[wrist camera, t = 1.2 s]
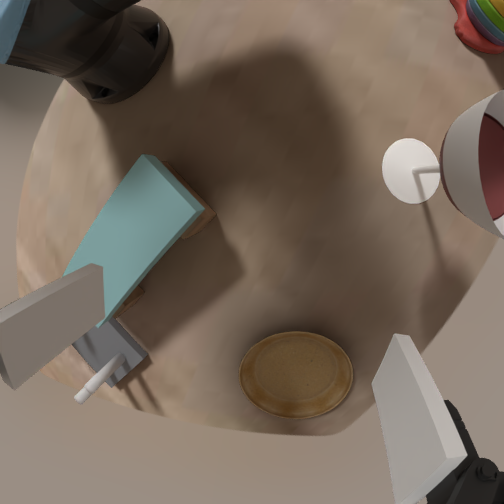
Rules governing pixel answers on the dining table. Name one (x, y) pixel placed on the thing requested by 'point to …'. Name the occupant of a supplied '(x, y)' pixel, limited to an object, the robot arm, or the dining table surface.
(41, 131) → the dining table surface
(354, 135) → the dining table surface
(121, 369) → the peg stand
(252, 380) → the plant saucer
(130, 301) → the blocks
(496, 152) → the wineglass
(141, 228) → the shelf board
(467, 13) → the stacking bear
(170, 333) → the dining table surface
